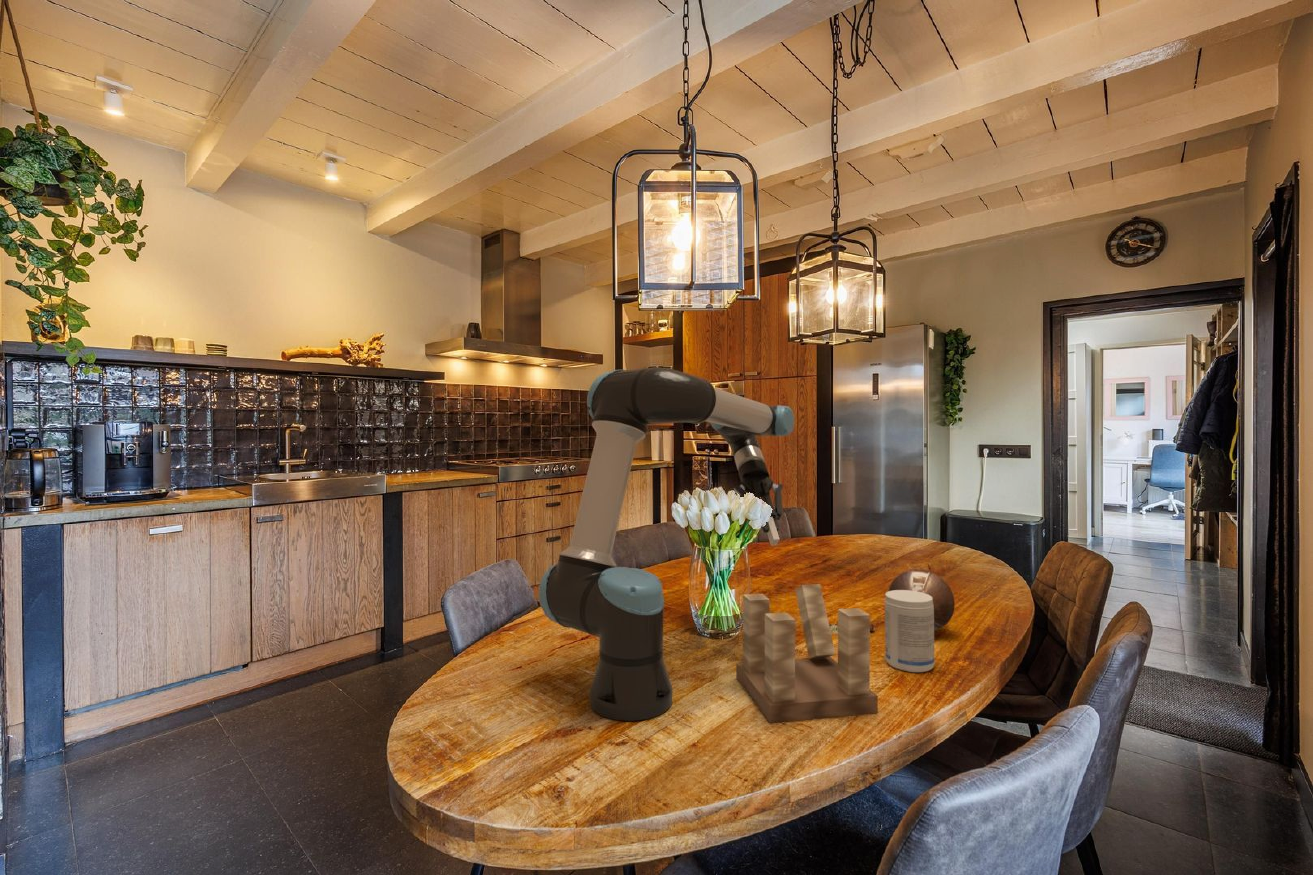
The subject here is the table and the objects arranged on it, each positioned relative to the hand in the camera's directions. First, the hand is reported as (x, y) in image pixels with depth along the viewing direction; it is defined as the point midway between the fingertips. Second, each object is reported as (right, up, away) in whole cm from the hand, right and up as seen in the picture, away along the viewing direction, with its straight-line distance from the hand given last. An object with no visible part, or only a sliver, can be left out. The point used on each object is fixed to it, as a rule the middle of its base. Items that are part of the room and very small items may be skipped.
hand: (775, 542), depth 139 cm
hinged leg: (+5, -19, -22) cm, 30 cm away
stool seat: (-1, -23, -30) cm, 38 cm away
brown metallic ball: (+37, -23, +4) cm, 43 cm away
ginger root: (+19, -23, +5) cm, 31 cm away
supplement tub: (+25, -23, -16) cm, 38 cm away
